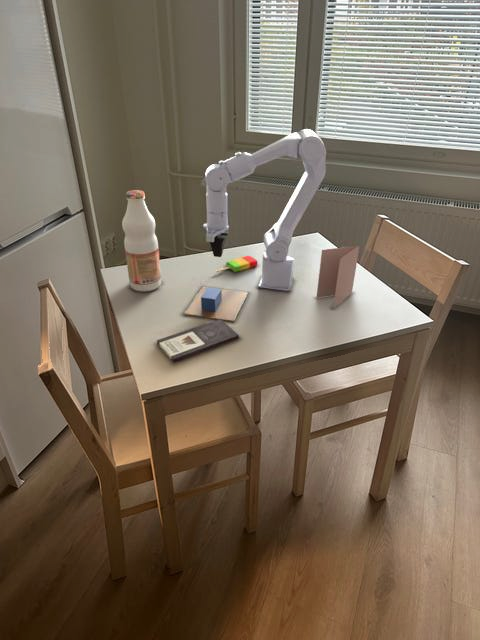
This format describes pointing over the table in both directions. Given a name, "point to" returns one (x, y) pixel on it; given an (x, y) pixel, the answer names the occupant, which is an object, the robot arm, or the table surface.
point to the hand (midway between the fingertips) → (217, 255)
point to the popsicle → (240, 264)
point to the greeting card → (337, 272)
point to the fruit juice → (141, 244)
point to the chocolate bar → (197, 340)
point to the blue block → (211, 299)
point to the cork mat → (226, 309)
